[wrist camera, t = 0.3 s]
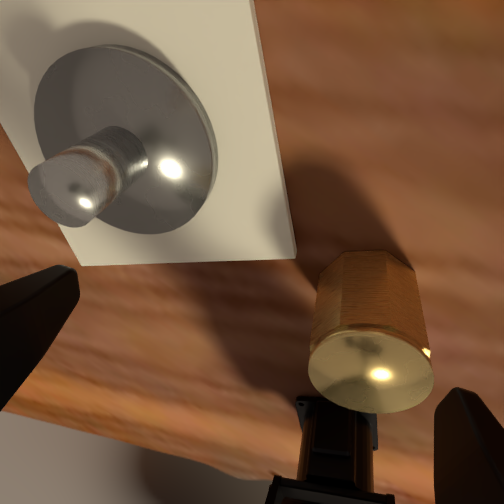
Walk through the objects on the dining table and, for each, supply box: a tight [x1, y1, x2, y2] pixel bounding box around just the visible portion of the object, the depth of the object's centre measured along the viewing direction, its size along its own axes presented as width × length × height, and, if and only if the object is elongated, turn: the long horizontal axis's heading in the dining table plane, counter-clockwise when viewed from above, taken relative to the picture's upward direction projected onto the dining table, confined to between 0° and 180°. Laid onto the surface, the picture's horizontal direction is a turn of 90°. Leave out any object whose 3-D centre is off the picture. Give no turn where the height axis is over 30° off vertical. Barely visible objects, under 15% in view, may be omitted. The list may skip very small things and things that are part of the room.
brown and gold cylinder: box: [308, 250, 434, 413], centre depth 21 cm, size 6×6×7 cm
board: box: [0, 0, 297, 266], centre depth 20 cm, size 18×16×1 cm
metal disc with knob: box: [28, 44, 218, 234], centre depth 18 cm, size 10×10×6 cm
